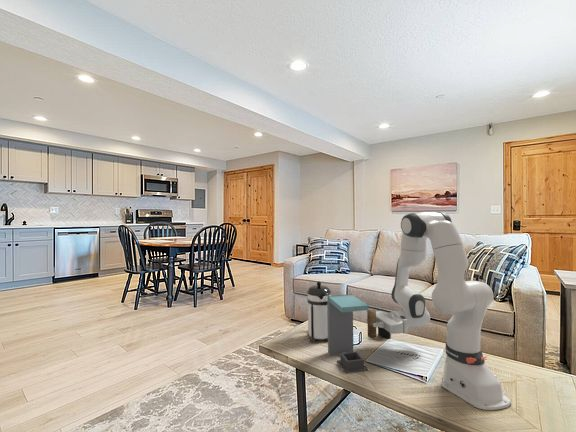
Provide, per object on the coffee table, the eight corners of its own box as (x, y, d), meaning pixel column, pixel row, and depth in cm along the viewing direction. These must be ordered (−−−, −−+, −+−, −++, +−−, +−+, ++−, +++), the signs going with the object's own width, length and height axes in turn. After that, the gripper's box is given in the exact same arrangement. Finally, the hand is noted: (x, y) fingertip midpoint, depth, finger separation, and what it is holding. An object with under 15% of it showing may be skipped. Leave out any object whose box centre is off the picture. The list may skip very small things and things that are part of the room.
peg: (378, 337, 137) (377, 311, 137) (370, 338, 136) (369, 312, 136) (373, 334, 141) (373, 309, 141) (366, 335, 140) (365, 310, 140)
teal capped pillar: (369, 369, 125) (368, 305, 125) (342, 372, 122) (341, 307, 122) (351, 349, 142) (351, 294, 142) (328, 352, 140) (327, 295, 140)
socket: (368, 370, 124) (368, 360, 124) (345, 373, 122) (345, 363, 121) (357, 359, 133) (357, 350, 133) (336, 361, 131) (336, 352, 131)
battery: (392, 336, 157) (392, 315, 157) (390, 338, 154) (390, 317, 154) (379, 333, 162) (379, 312, 162) (377, 335, 159) (377, 314, 158)
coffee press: (340, 337, 157) (340, 281, 157) (321, 346, 146) (320, 286, 146) (316, 328, 170) (315, 276, 169) (296, 336, 159) (295, 281, 158)
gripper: (385, 307, 152) (360, 309, 149) (409, 320, 132) (380, 323, 129) (385, 319, 152) (360, 321, 149) (409, 334, 132) (381, 337, 129)
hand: (370, 322), depth 139 cm, fingers closed on peg, 4 cm apart
